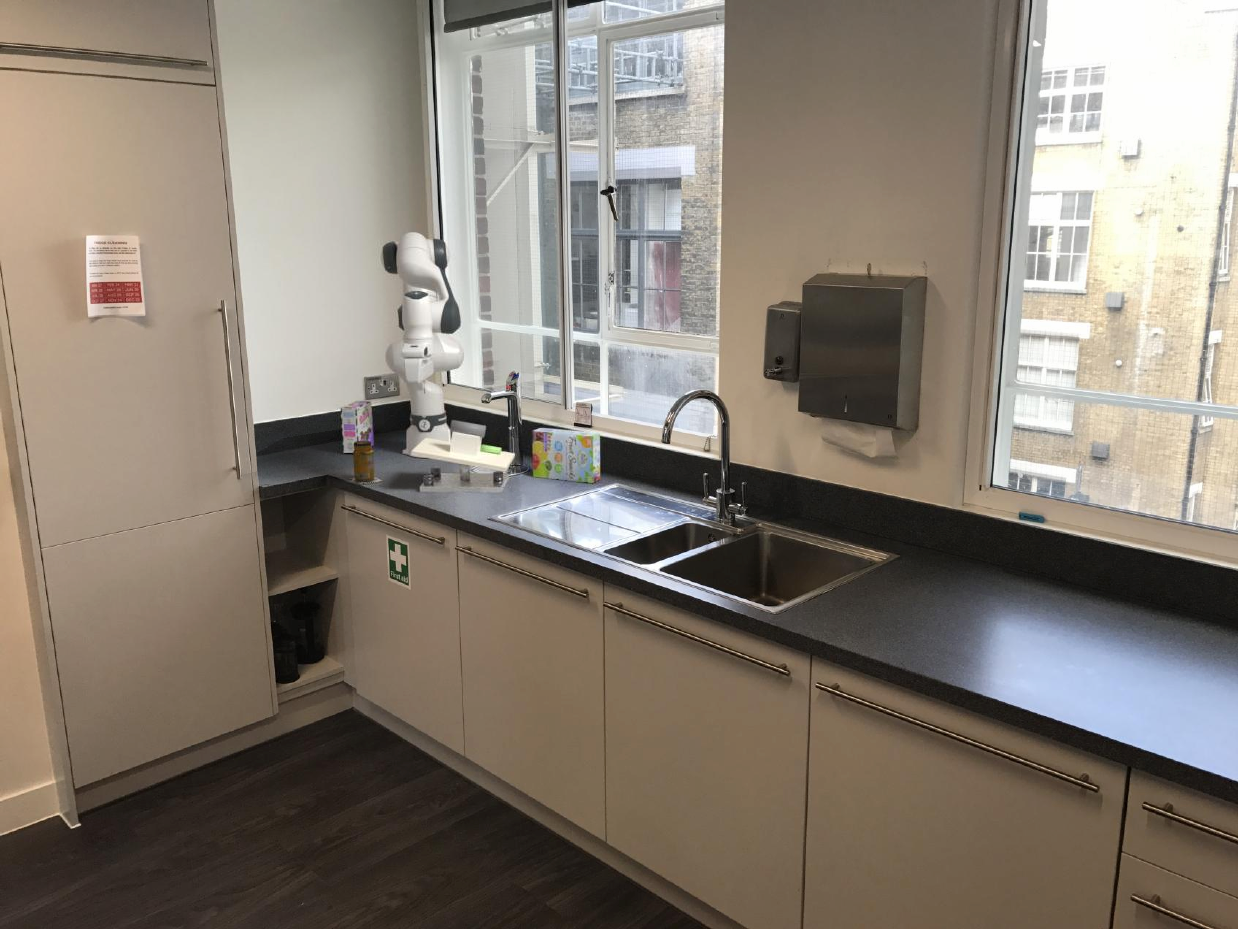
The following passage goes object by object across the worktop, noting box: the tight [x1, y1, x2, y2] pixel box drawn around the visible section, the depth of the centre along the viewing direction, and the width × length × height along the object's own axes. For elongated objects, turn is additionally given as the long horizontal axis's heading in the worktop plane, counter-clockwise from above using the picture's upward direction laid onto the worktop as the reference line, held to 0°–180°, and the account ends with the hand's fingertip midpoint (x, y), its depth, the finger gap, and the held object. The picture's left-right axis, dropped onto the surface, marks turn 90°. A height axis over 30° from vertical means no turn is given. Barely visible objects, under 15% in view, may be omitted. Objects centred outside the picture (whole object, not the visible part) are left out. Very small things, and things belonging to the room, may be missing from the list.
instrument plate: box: [411, 419, 516, 472], centre depth 301 cm, size 28×18×10 cm, turn 88°
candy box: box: [340, 400, 375, 453], centre depth 349 cm, size 14×6×16 cm, turn 171°
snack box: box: [531, 427, 601, 484], centre depth 310 cm, size 21×6×15 cm, turn 65°
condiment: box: [350, 441, 383, 485], centre depth 309 cm, size 7×8×12 cm
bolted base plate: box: [419, 464, 510, 493], centre depth 304 cm, size 24×16×8 cm, turn 88°
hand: (421, 394), depth 298 cm, fingers closed
